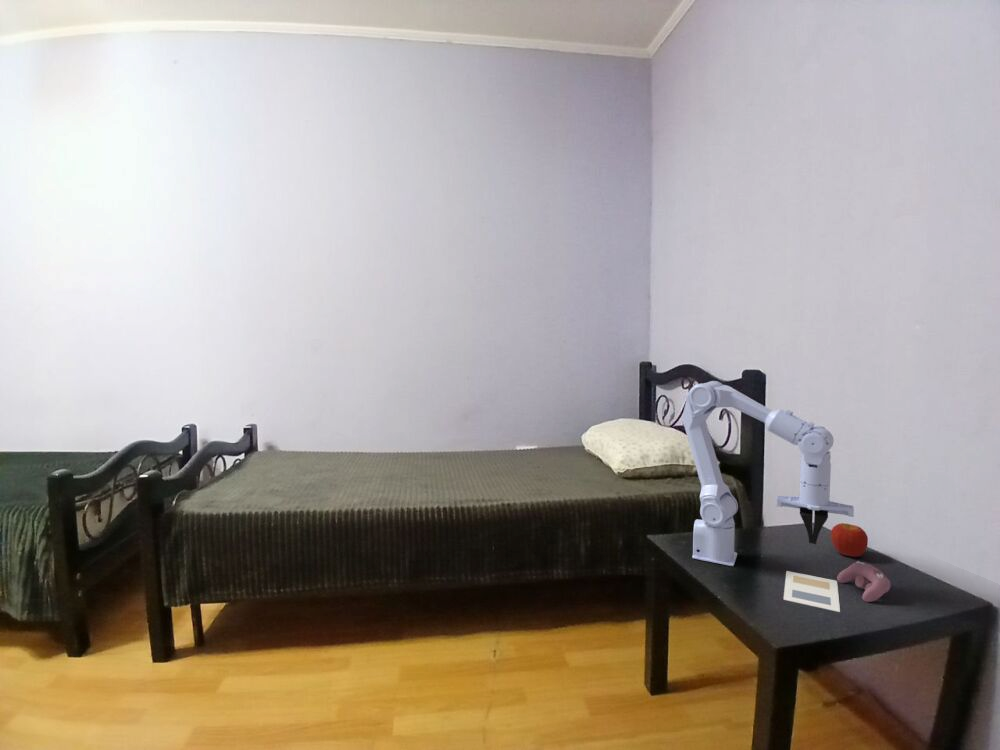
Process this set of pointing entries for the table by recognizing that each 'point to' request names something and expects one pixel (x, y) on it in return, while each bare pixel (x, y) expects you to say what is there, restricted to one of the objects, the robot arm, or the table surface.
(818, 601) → the label card
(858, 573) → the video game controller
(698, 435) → the robot arm
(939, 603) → the table surface
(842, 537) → the apple
